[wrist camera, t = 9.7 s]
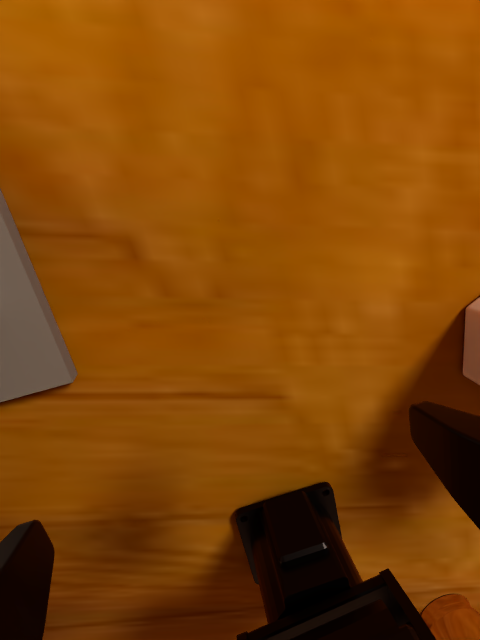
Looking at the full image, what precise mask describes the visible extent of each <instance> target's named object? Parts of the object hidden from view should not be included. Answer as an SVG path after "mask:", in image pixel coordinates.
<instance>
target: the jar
mask: <svg viewBox="0 0 480 640" xmlns="http://www.w3.org/2000/svg"><path fill="white" fill-rule="evenodd" d="M463 375H464V376H465V377H467V378H468V379H470V380H472V381H473V382H475V383H477V384H478V385H480V297H479V298H478V299H476V300H475V301H474V302H472V303H471V304H470V305H469V306H467V307H466V311H465V332H464V353H463Z"/></svg>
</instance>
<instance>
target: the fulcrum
mask: <svg viewBox="0 0 480 640" xmlns="http://www.w3.org/2000/svg"><path fill="white" fill-rule="evenodd" d="M76 375H77V371H76V369H75V366H74V364H73V362H72V359H71V357H70V355H69V352H68V350H67V347H66V345H65V343H64V340H63V338H62V335H61V333H60V331H59V328H58V326H57V323H56V321H55V319H54V316H53V314H52V311H51V309H50V307H49V304H48V302H47V299H46V297H45V295H44V292H43V290H42V287H41V285H40V283H39V280H38V278H37V276H36V273H35V271H34V268H33V266H32V264H31V261H30V259H29V256H28V254H27V252H26V249H25V247H24V244H23V242H22V240H21V237H20V235H19V232H18V230H17V228H16V225H15V223H14V220H13V218H12V216H11V213H10V211H9V208H8V206H7V204H6V201H5V199H4V197H3V194H2V192H1V189H0V402H3V401H7V400H11V399H14V398H18V397H21V396H25V395H29V394H32V393H36V392H39V391H43V390H47V389H50V388H54V387H57V386H61V385H65V384H68V383H72V382H73V381H74V379H75V377H76Z"/></svg>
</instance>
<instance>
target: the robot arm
mask: <svg viewBox="0 0 480 640" xmlns="http://www.w3.org/2000/svg"><path fill="white" fill-rule="evenodd" d="M409 420H410V432H411V436H412V439H413V441H414V443H415V444H416V446H417V447H418V449H419V450H420V452H421V453H422V455H423V456H424V457H425V459H426V460H427V462H428V463H429V465H430V466H431V467H432V469H433V470H434V472H435V473H436V475H437V476H438V478H439V479H440V480H441V482H442V483H443V485H444V486H445V488H446V489H447V490H448V492H449V493H450V494H451V496H452V497H453V498H454V500H455V501H456V502H457V503H458V505H459V506H460V507H461V508H462V509H463V510H464V512H465V513H466V514H467V515H468V516H469V518H470V519H471V520H472V521H473V522H474V523H475V525H476V526H477V527H478V528H479V529H480V417H479V416H476V415H473V414H469V413H466V412H462V411H459V410H455V409H452V408H449V407H445V406H442V405H438V404H435V403H431V402H428V401H423V402H419V403H416V404H413V405H411V406H410V407H409ZM324 490H326V491H324ZM323 491H324V492H323ZM242 516H245V517H242ZM235 517H236V522H237V525H238V528H239V532H240V535H241V538H242V541H243V545H244V548H245V551H246V555H247V558H248V561H249V564H250V568H251V571H252V574H253V578H254V581H255V583H256V584H259V586H260V590H261V595H262V599H263V604H264V608H265V613H266V617H267V622H268V624H267V625H265V626H262V627H260V628H258V629H256V630H253V631H251V632H249V633H248V632H247V631H246V632H244V633H241V634H239V635H237V640H436V638H435V637H434V635H433V633H432V632H431V630H430V629H429V627H428V626H427V624H426V623H425V621H424V620H423V618H422V617H421V616H420V614H419V613H418V611H417V610H416V608H415V607H414V605H413V604H412V602H411V601H410V599H409V598H408V596H407V595H406V593H405V592H404V591H403V589H402V588H401V586H400V585H399V583H398V582H397V580H396V579H395V577H394V576H393V574H392V573H391V571H390V570H389V569H386V570H383V571H381V572H379V575H377V576H375V577H373V578H370V579H368V580H366V581H364V582H363V581H362V579H361V577H360V575H359V573H358V571H357V569H356V567H355V565H354V563H353V561H352V559H351V557H350V555H349V553H348V551H347V549H346V547H345V545H344V543H343V540H342V536H341V531H340V525H339V520H338V514H337V509H336V503H335V498H334V493H333V489H332V487H331V485H330V484H329V483H327V482H322V483H319V484H316V485H313V486H310V487H307V488H303V489H300V490H297V491H294V492H291V493H288V494H285V495H281V496H278V497H275V498H272V499H269V500H266V501H263V502H259V503H256V504H253V505H250V506H247V507H244V508H241V509H239V510H238V511H237V512H236V514H235ZM53 563H54V547H53V544H52V542H51V540H50V538H49V537H48V535H47V533H46V531H45V529H44V527H43V525H42V524H41V522H40V521H38V520H33V521H29V522H26V523H23V524H20V525H18V526H17V527H15V528H14V529H13V530H12V531H11V532H10V533H9V534H8V535H7V536H6V537H5V538H4V539H3V540H2V541H1V542H0V640H42V637H43V633H44V627H45V621H46V614H47V606H48V599H49V592H50V585H51V577H52V570H53Z"/></svg>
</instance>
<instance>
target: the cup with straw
mask: <svg viewBox="0 0 480 640" xmlns="http://www.w3.org/2000/svg"><path fill="white" fill-rule="evenodd" d="M421 617H422V618H423V620H424V621H425V623H426V624H427V626H428V627H429V629H430V630H431V632H432V633H433V635H434V637H435V638H436V640H480V613H479V612H478V611H476V610H475V609H474V608H472V607H471V606H470V603H469V601H468V600H467V598H465V597H464V596H462V595H458V594H450V595H446V596H442V597H440V598H438V599H436V600H435V601H433V602H432V603H430V604H429V605H428V606H427V607H426V608H425V609H424V611H423V612H422V614H421Z"/></svg>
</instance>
